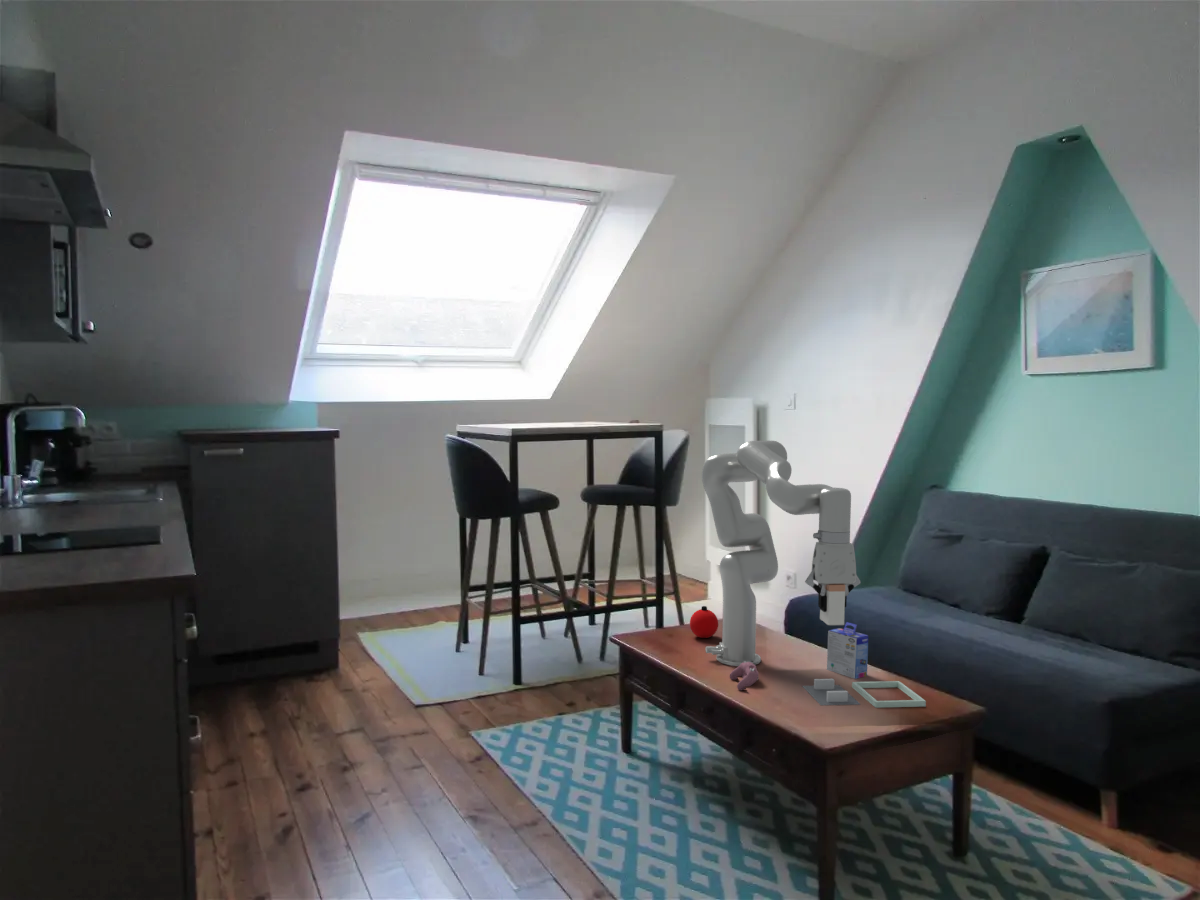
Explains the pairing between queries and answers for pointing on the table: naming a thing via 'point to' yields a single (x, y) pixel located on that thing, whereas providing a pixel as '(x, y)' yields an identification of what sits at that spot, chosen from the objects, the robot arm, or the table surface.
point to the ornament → (704, 623)
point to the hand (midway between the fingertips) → (832, 609)
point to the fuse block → (829, 693)
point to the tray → (915, 702)
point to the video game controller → (745, 674)
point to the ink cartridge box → (847, 652)
